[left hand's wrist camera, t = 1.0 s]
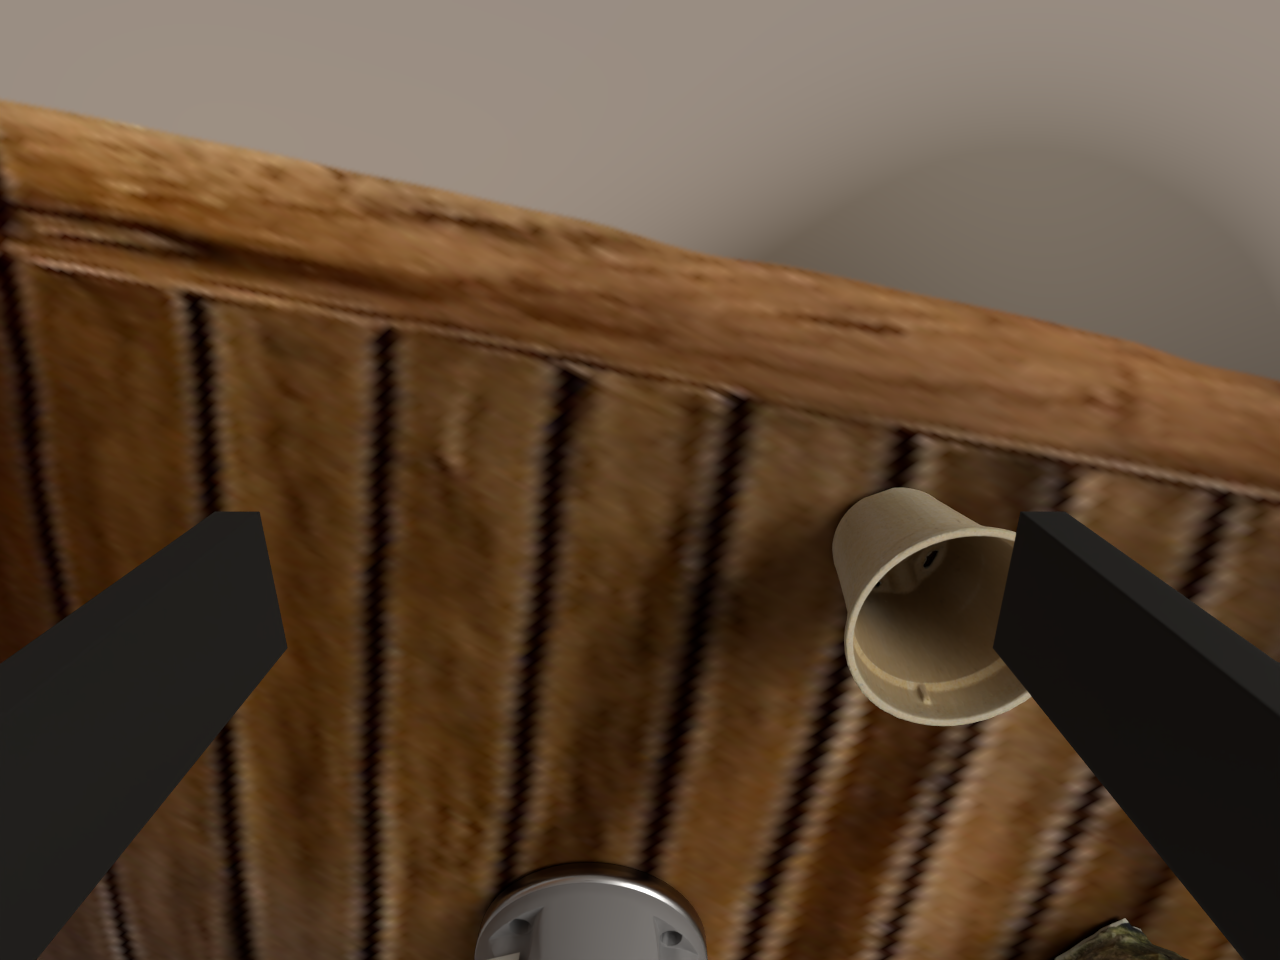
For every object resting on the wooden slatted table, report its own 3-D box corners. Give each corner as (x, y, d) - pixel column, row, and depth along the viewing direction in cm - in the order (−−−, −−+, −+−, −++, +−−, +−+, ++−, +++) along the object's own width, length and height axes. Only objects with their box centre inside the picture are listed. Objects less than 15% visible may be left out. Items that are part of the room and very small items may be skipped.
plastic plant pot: (998, 454, 35) (1103, 528, 27) (969, 617, 39) (1054, 726, 31) (808, 456, 35) (857, 530, 27) (795, 619, 39) (836, 728, 31)
